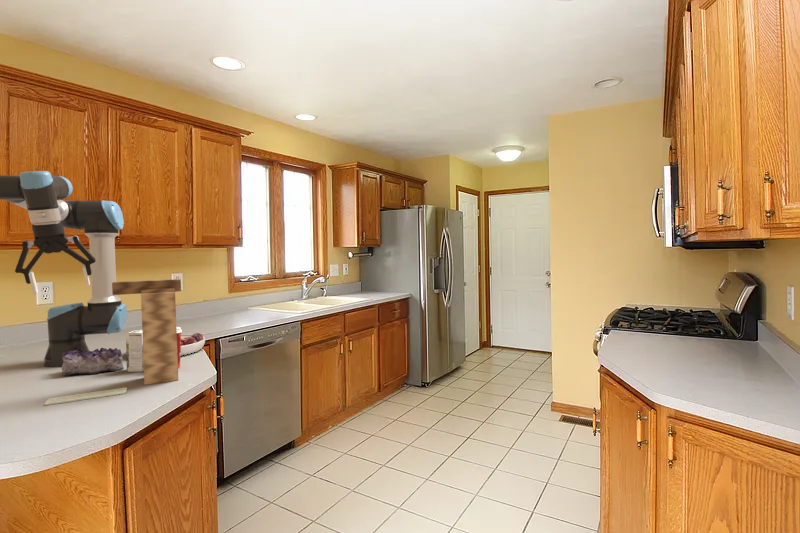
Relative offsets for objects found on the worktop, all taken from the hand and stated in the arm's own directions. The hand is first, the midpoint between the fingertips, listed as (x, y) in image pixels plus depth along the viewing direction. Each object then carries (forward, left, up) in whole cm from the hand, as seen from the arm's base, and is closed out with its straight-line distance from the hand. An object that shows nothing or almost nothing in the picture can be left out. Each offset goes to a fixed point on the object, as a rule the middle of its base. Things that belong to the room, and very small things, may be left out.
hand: (62, 289), depth 141 cm
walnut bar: (+24, +1, -2) cm, 24 cm away
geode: (+1, +23, -33) cm, 40 cm away
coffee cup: (+28, +16, -33) cm, 46 cm away
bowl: (+22, +46, -33) cm, 61 cm away
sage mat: (+9, -11, -32) cm, 35 cm away
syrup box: (+17, +18, -33) cm, 41 cm away
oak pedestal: (+27, +2, -32) cm, 42 cm away
